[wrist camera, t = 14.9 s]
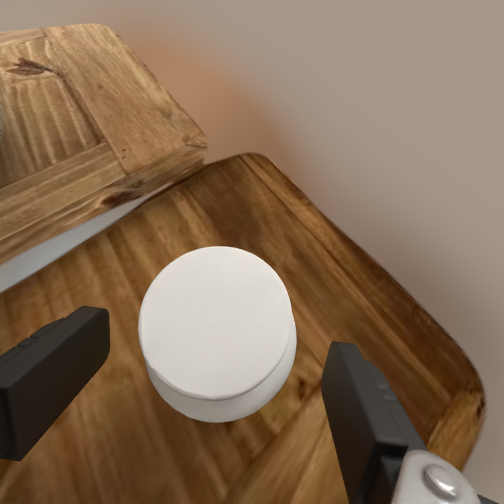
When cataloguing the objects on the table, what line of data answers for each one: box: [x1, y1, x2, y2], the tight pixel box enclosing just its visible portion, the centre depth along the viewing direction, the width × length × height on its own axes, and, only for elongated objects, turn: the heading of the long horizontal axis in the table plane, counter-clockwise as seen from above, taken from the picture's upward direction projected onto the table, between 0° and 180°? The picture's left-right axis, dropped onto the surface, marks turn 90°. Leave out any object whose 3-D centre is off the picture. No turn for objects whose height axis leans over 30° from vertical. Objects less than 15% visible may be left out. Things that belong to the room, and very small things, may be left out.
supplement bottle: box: [138, 246, 296, 422], centre depth 11 cm, size 5×5×10 cm
